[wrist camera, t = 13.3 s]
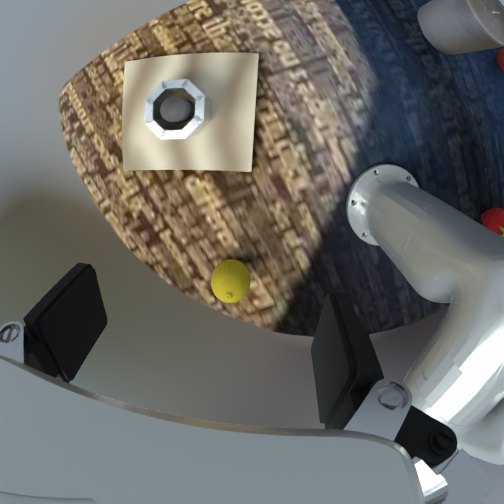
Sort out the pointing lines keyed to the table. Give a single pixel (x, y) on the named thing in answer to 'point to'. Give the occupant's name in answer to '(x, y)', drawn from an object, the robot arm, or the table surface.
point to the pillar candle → (462, 25)
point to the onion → (500, 59)
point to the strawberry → (494, 220)
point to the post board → (224, 115)
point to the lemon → (230, 281)
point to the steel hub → (170, 90)
